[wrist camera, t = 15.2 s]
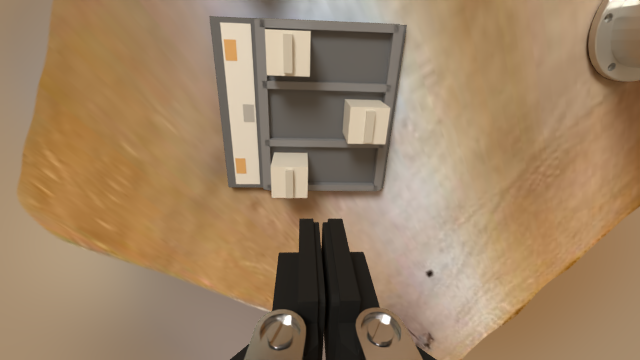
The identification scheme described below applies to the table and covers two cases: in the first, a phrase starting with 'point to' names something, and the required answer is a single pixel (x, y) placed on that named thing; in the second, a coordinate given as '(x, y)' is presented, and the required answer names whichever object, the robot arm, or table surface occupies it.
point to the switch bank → (304, 100)
